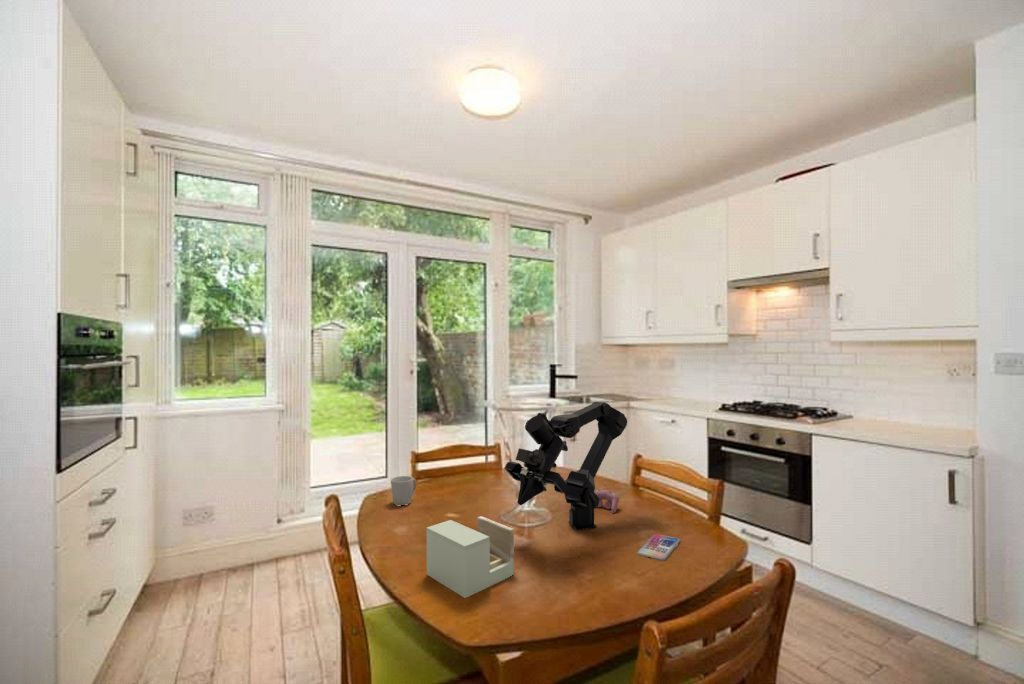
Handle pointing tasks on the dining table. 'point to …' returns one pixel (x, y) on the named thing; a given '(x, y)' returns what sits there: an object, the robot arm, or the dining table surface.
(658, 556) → the smartphone
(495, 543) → the drawer
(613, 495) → the video game controller
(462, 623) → the dining table surface
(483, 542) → the caddy
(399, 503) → the cup
